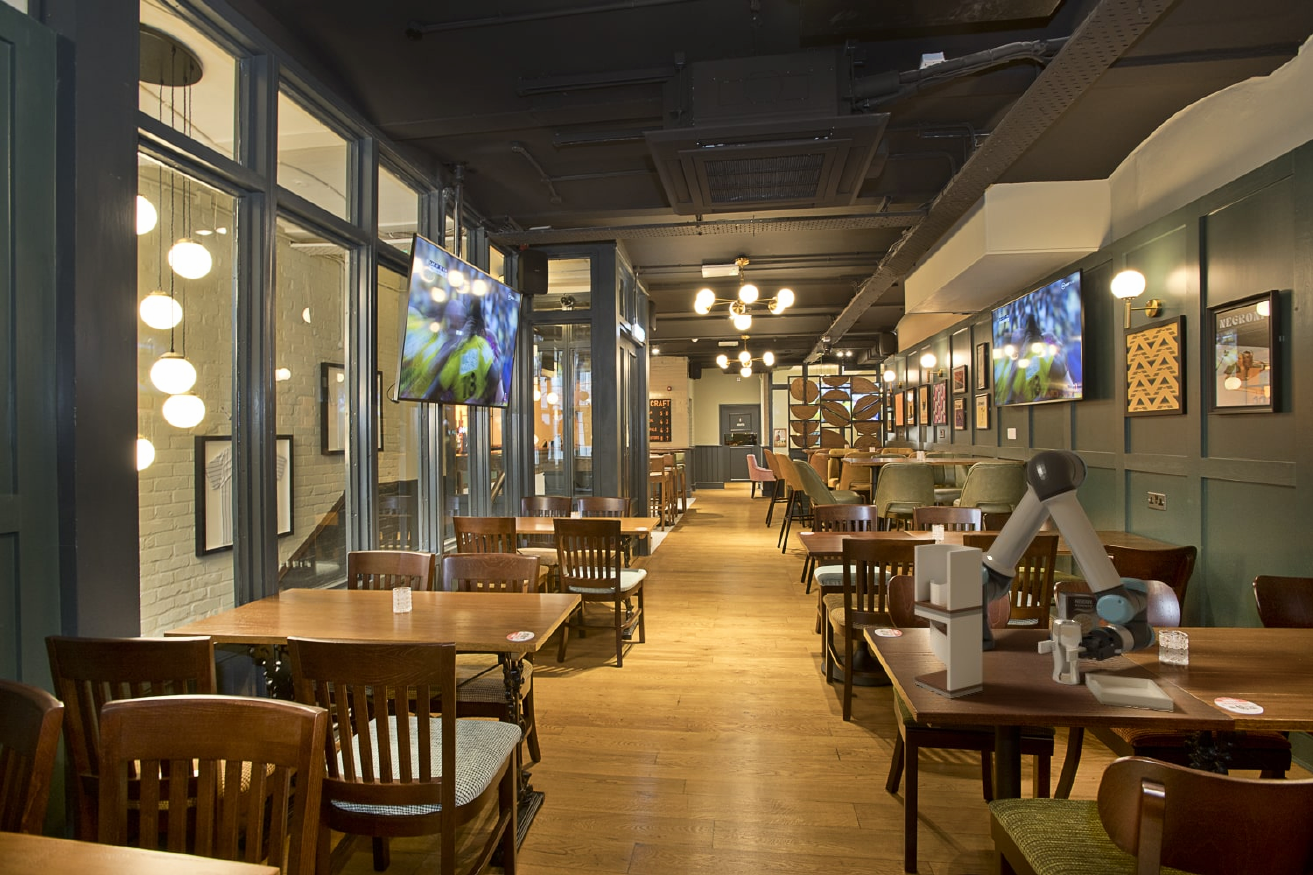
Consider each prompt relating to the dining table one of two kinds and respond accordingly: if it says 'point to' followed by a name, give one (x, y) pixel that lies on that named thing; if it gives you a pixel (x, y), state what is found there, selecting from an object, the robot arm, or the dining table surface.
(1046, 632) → the dining table surface
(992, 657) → the dining table surface
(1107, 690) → the dish
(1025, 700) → the dining table surface
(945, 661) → the tall white shelf unit
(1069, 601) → the coffee box
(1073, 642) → the beer glass
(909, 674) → the dining table surface
